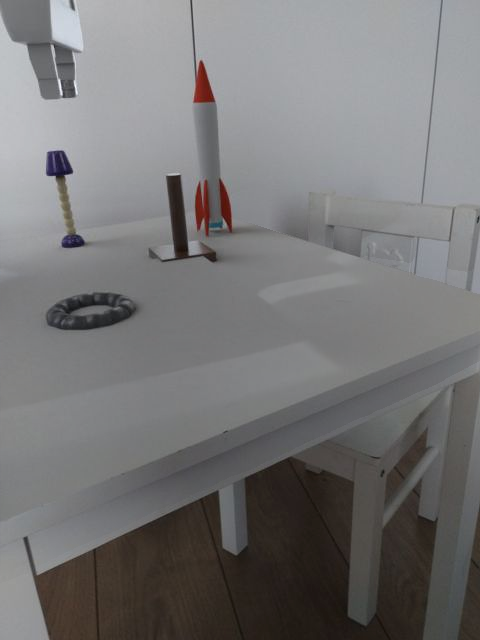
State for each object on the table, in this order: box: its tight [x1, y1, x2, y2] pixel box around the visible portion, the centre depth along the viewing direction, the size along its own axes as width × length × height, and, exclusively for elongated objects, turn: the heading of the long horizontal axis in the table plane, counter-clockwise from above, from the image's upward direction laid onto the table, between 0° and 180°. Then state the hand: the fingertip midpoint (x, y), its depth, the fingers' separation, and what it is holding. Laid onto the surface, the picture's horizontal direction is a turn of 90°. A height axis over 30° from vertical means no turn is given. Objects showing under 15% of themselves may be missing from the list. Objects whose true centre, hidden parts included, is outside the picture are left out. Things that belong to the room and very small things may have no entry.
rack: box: [148, 172, 218, 263], centre depth 92 cm, size 9×9×14 cm
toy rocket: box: [192, 59, 233, 237], centre depth 105 cm, size 6×6×30 cm
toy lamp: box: [45, 149, 86, 248], centre depth 104 cm, size 5×5×17 cm
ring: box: [45, 291, 137, 331], centre depth 70 cm, size 10×10×2 cm
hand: (61, 98), depth 59 cm, fingers open, 8 cm apart
